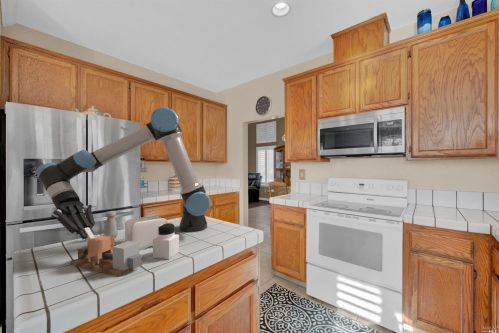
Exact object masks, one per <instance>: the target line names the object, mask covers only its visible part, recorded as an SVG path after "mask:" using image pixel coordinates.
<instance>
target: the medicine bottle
mask: <svg viewBox="0 0 499 333" xmlns="http://www.w3.org/2000/svg"><path fill="white" fill-rule="evenodd" d="M178 253H180V234H177V233H175V224H174V223H171V222H167V223H164V224H161V225H159V226H158V237H156V238H154V239H153V246H152V258H154V259H161V260H170V259H171V258H173V257H174V256H176V255H178Z"/></svg>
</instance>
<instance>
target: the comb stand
mask: <svg viewBox="0 0 499 333" xmlns="http://www.w3.org/2000/svg"><path fill="white" fill-rule="evenodd" d="M86 249H88V245H87V246H84V247H81V248H78V249H77V258H76V259H74V260H70V261H69V262H70V264H69V265H70V266H74V267H78V268H82V269H87V270H91V271H95V272H99V273H103V274H107V275H111V276H116V277H122V276H125V274H127V273H130V272H131V271H133V270H134V269H136V268H139V267H140V266H143V265H144V260H142V259H141V265H139V266H137V267H135V268H128V269H126V270H124V271H123V270H119V269H114V268H113V260H112V259H107V258H100V259H99V264H96V263H95V256H92V257H91V262H88V255H87V254H84V251H85V250H86Z"/></svg>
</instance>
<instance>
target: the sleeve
mask: <svg viewBox="0 0 499 333" xmlns="http://www.w3.org/2000/svg"><path fill="white" fill-rule="evenodd" d="M87 246H88V262H91V257H92V256H95V263H96V264H99V259H100V258H102V253H103V252H106V253H111V254H113V247H114V246H115V239H114V236H111V235H104V234H101V235H98V236H95V238H92V239H89V240H88V244H87Z"/></svg>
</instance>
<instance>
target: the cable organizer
mask: <svg viewBox="0 0 499 333" xmlns="http://www.w3.org/2000/svg"><path fill="white" fill-rule="evenodd" d="M164 223H168V220H167V219H166V218H163V217H162V218H161V216H159V215H156V214H155V215H149V216H143V217H136V218H130V219H128V220H126V221H125V223H124V238H125V239H124V240H125V242H127V241H133V242H139V251H141V250H146V249H148V248H149V247H153V239H154V238H156V237H158V226H159V225H161V224H164Z"/></svg>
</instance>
